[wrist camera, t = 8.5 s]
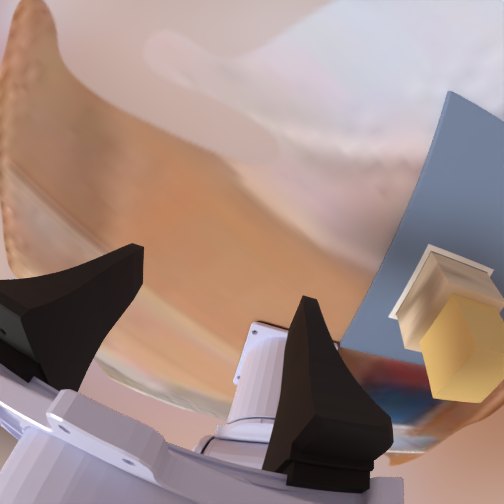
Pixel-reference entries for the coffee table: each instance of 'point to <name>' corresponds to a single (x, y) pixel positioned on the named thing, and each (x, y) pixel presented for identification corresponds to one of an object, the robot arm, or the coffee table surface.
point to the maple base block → (441, 295)
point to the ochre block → (464, 351)
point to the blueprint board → (440, 224)
